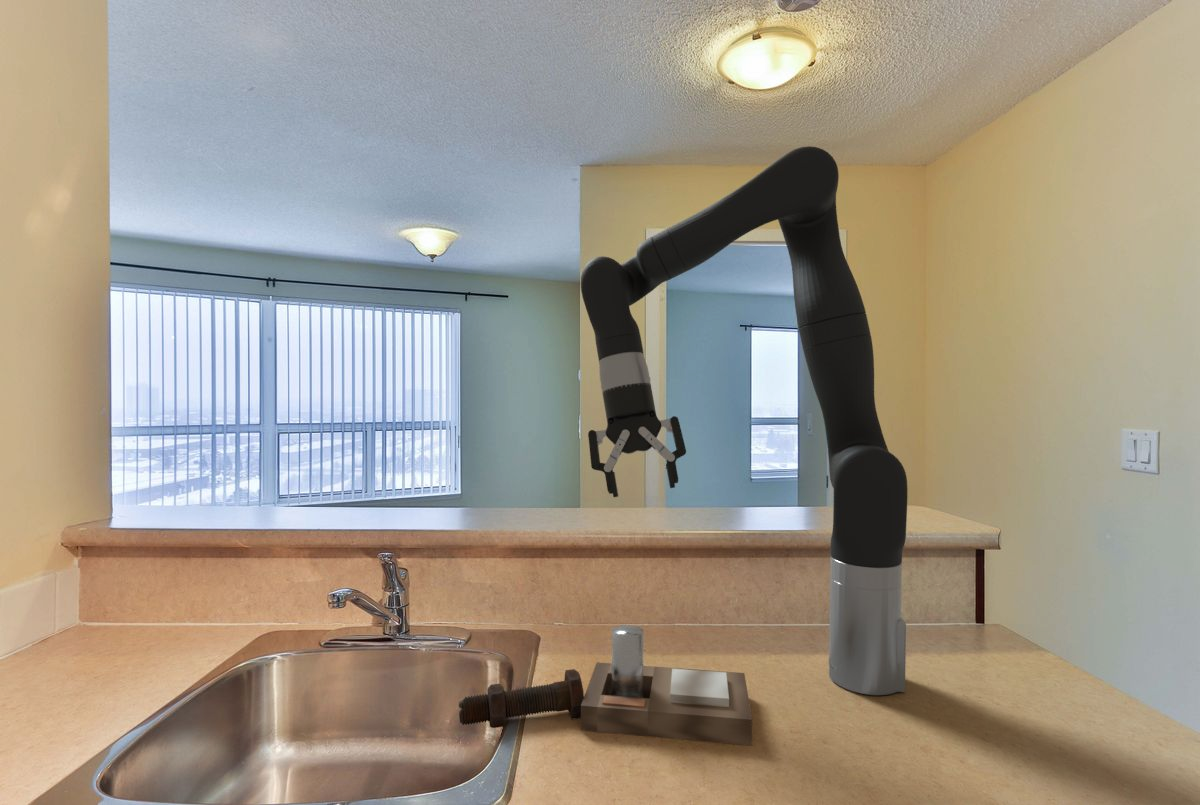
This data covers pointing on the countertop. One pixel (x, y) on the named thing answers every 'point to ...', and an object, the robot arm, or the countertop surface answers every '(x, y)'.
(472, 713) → the bolt
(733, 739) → the recessed board
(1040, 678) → the countertop surface
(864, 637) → the robot arm
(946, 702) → the countertop surface
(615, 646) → the peg
